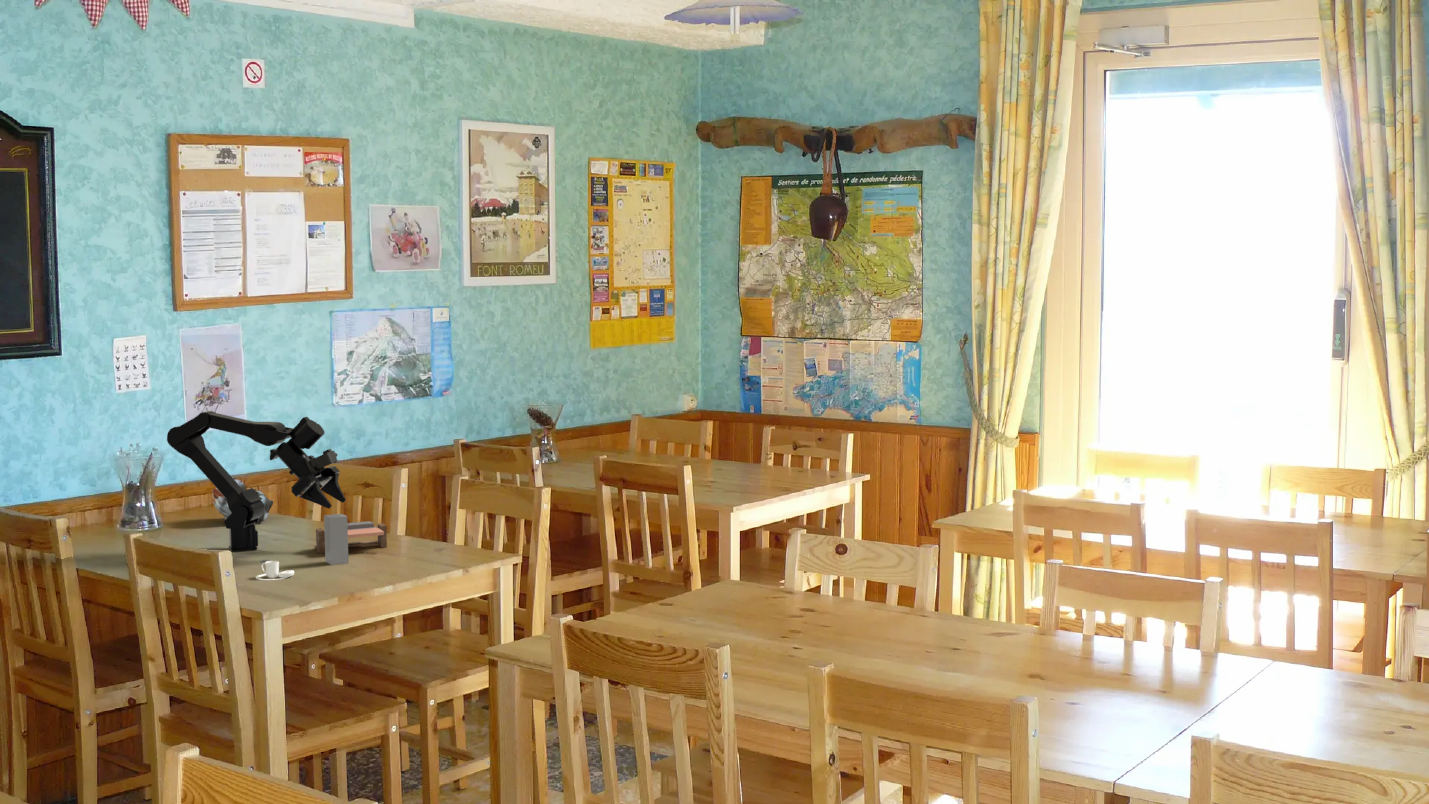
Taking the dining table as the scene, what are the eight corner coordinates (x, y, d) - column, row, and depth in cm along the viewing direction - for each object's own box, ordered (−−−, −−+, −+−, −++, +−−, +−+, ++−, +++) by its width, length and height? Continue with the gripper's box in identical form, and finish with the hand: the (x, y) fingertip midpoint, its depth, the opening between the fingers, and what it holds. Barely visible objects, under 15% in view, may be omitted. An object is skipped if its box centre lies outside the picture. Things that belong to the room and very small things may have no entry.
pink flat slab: (329, 543, 347) (329, 532, 347) (321, 536, 357) (321, 525, 357) (384, 538, 354) (383, 527, 353) (374, 531, 363) (374, 520, 363)
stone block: (330, 565, 337) (329, 518, 336) (325, 561, 341) (324, 515, 340) (348, 563, 340) (347, 516, 338) (342, 559, 343) (341, 513, 342)
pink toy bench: (319, 553, 351) (318, 531, 351) (314, 548, 357) (314, 527, 357) (386, 547, 359) (386, 525, 359) (381, 542, 365) (380, 521, 365)
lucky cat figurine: (263, 525, 389) (234, 481, 384) (223, 542, 391) (194, 498, 386) (281, 500, 404) (253, 457, 399) (242, 516, 407) (215, 473, 401)
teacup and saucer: (299, 577, 325) (299, 561, 325) (273, 584, 318) (273, 567, 318) (274, 573, 330) (274, 557, 329) (248, 579, 323) (247, 563, 322)
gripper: (302, 444, 342) (344, 489, 341) (332, 436, 360) (371, 478, 360) (273, 473, 343) (314, 518, 343) (304, 463, 362) (343, 506, 362)
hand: (337, 504), depth 352 cm, fingers open, 9 cm apart
